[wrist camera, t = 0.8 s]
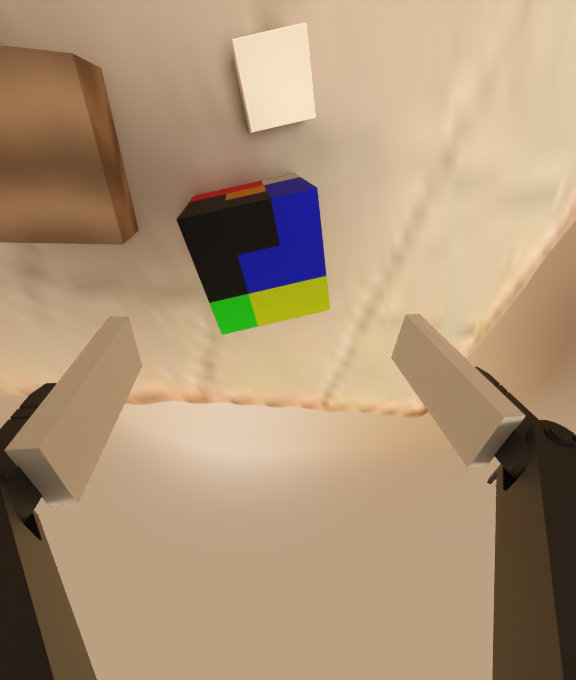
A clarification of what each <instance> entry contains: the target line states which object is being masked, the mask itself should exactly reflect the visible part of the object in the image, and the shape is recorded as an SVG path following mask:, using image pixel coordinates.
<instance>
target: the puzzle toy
mask: <svg viewBox="0 0 576 680" xmlns="http://www.w3.org/2000/svg"><path fill="white" fill-rule="evenodd" d="M177 222H178V224H179V227H180V230H181V232H182V235H183V237H184V240H185V242H186V245H187V247H188V250H189V252H190V255H191V257H192V260H193V262H194V265H195V268H196V270H197V273H198V275H199V278H200V280H201V283H202V285H203V288H204V290H205V293H206V295H207V298H208V300H209V303H210V306H211V308H212V311H213V313H214V316H215V318H216V321H217V323H218V326H219V328H220V331H221V333H222V335H223V334H228V333H232V332H236V331H241V330H245V329H249V328H253V327H258V326H262V325H266V324H271V323H275V322H279V321H283V320H288V319H292V318H296V317H301V316H305V315H309V314H314V313H318V312H322V311H326V310H330V305H329V296H328V286H327V277H326V267H325V258H324V248H323V239H322V229H321V220H320V210H319V201H318V191H317V187H315V186H314V185H312V184H311V183H309V182H307V181H306V180H304V179H303V178H301V177H299V176H298V175H296V174H295V173H293V174H289V175H284V176H280V177H275V178H271V179H267V180H262V181H258V182H253V183H249V184H245V185H240V186H236V187H231V188H227V189H223V190H218V191H214V192H209V193H205V194H200V195H196V196H194V197H193V198H192V200H191V201H190V202H189V204H188V205H187V206H186V208H185V209H184V210H183V212H182V213H181V214H180V216H179V217H178V218H177Z"/></svg>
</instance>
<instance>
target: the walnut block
mask: <svg viewBox="0 0 576 680" xmlns="http://www.w3.org/2000/svg"><path fill="white" fill-rule="evenodd" d="M137 231H138V226H137V222H136V218H135V213H134V209H133V205H132V201H131V196H130V192H129V188H128V183H127V179H126V175H125V170H124V166H123V162H122V157H121V153H120V149H119V144H118V140H117V136H116V131H115V127H114V123H113V118H112V114H111V110H110V105H109V101H108V97H107V92H106V88H105V84H104V79H103V75H102V71H101V68H100V67H98V66H96V65H94V64H92V63H90V62H88V61H86V60H84V59H82V58H80V57H78V56H76V55H74V54H72V53H63V52H54V51H44V50H35V49H26V48H17V47H8V46H0V242H21V243H76V244H124V243H125V242H126V241H127V240H129V239H130V238H131V237H132V236H133V235H134V234H135V233H136V232H137Z"/></svg>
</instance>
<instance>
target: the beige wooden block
mask: <svg viewBox="0 0 576 680" xmlns="http://www.w3.org/2000/svg"><path fill="white" fill-rule="evenodd" d="M232 49H233V59H234V64H235V68H236V73H237V78H238V82H239V87H240V92H241V96H242V101H243V105H244V110H245V115H246V119H247V124H248V129H249V133H253V132H257V131H261V130H266V129H270V128H274V127H279V126H283V125H287V124H292V123H296V122H300V121H304V120H308V119H312V118H316V114H315V104H314V93H313V83H312V73H311V63H310V53H309V42H308V32H307V22H304V23H300V24H296V25H291V26H287V27H282V28H278V29H274V30H269V31H265V32H260V33H256V34H252V35H247V36H243V37H239V38H234V39H232Z"/></svg>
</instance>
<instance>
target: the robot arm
mask: <svg viewBox="0 0 576 680" xmlns="http://www.w3.org/2000/svg"><path fill="white" fill-rule="evenodd" d="M391 358H392V360H393V361H394V362H395V364H396V365H397V367H398V368H399V370H400V371H401V373H402V374H403V375H404V377H405V378H406V380H407V381H408V383H409V384H410V385H411V387H412V388H413V390H414V391H415V393H416V394H417V396H418V397H419V398H420V400H421V401H422V403H423V404H424V406H425V407H426V408H427V410H428V411H429V413H430V414H431V415H432V417H433V418H434V420H435V421H436V423H437V424H438V426H439V427H440V429H441V430H442V431H443V433H444V434H445V436H446V437H447V438H448V440H449V441H450V443H451V444H452V446H453V447H454V449H455V450H456V451H457V453H458V454H459V456H460V457H461V459H462V460H463V462H464V463H465V464H466V466H467V467H468V468H474V467H484V466H487V465H488V464H489V462H490V461H491V460H492V459H493V457H494V456H495V457H496V458H497V459H498V461H499V462H500V463H501V464H500V465H499V467H498V468H497V469H496V470H495V472H494V473H493V474H492V475H491V476H490V478H489V479H488V482H487V483H489V484H491V483H492V482H493V481H494V480H495V479H497V485H496V490H497V491H496V535H495V584H494V633H493V680H576V435H575V434H574V433H573V432H571V431H570V430H568V429H567V428H565V427H563V426H561V425H559V424H557V423H554V422H551V421H548V420H538V419H537V418H536V417H535V416H534V415H533V414H532V413H531V412H530V411H528V409H527V408H525V407H524V406H523V405H522V404H521V403H520V402H519V401H518V400H517V399H516V398H515V397H514V396H512V395H511V394H510V393H508V392H507V390H506V389H505V388H504V387H503V386H502V385H499V382H497V381H496V380H495V379H494V378H493V377H492V376H491V375H490V374H488V373H487V372H485V371H483V370H482V369H480V368H478V367H474V366H473V365H472V364H471V363H470V362H469V361H468V360H467V359H466V358H465V357H464V356H463V355H462V354H461V353H460V352H458V351H457V350H456V349H455V348H454V347H453V346H452V345H451V344H450V343H449V342H448V341H447V340H446V339H445V338H444V337H443V336H442V335H441V334H440V333H439V332H438V331H437V330H435V329H434V328H433V327H432V326H431V325H430V324H429V323H428V322H427V321H426V320H425V319H424V318H423V317H422V316H421V315H420V314H408V315H405V318H404V321H403V324H402V327H401V330H400V333H399V336H398V339H397V342H396V345H395V348H394V351H393V354H392V357H391ZM141 367H142V363H141V360H140V356H139V353H138V349H137V346H136V342H135V339H134V335H133V332H132V328H131V325H130V321H129V318H128V317H109V318H108V319H107V321H106V322H105V323H104V324H103V326H102V327H101V328H100V329H99V331H98V332H97V333H96V335H95V336H94V337H93V338H92V340H91V341H90V342H89V343H88V345H87V346H86V347H85V348H84V350H83V351H82V352H81V354H80V355H79V356H78V357H77V359H76V360H75V361H74V362H73V364H72V365H71V366H70V367H69V369H68V370H67V371H66V373H65V374H64V375H63V376H62V378H61V379H60V380H59V381H58V383H46V384H44V385H43V386H42V387H40V388H39V389H37V390H36V391H34V392H33V393H31V394H30V395H29V396H28V398H27V399H26V400H25V401H24V402H23V403H22V404H21V406H20V409H17V410H16V411H15V413H14V414H13V415H12V416H11V419H10V420H8V421H7V422H6V423H5V424H4V425H3V427H2V428H1V429H0V680H97V679H96V676H95V673H94V671H93V668H92V665H91V662H90V660H89V657H88V654H87V651H86V648H85V645H84V642H83V640H82V637H81V634H80V631H79V628H78V626H77V623H76V620H75V617H74V615H73V612H72V609H71V606H70V603H69V601H68V598H67V595H66V592H65V590H64V586H63V584H62V581H61V578H60V575H59V573H58V570H57V567H56V564H55V561H54V558H53V556H52V553H51V550H50V547H49V544H48V542H47V539H46V536H45V533H44V530H43V528H42V525H41V522H40V519H39V516H38V514H37V513H36V512H35V511H34V509H35V507H36V505H37V504H38V502H39V500H40V499H41V497H42V498H44V500H45V501H46V503H47V504H48V505H49V506H50V507H52V506H63V505H74V504H78V503H79V500H80V498H81V496H82V494H83V492H84V489H85V487H86V485H87V483H88V481H89V479H90V477H91V475H92V472H93V470H94V468H95V466H96V464H97V462H98V460H99V457H100V455H101V453H102V451H103V448H104V447H105V444H106V442H107V440H108V438H109V436H110V434H111V432H112V429H113V427H114V425H115V423H116V421H117V419H118V416H119V414H120V412H121V410H122V408H123V406H124V404H125V401H126V399H127V397H128V395H129V393H130V391H131V388H132V386H133V384H134V382H135V380H136V378H137V376H138V373H139V371H140V369H141Z"/></svg>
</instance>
